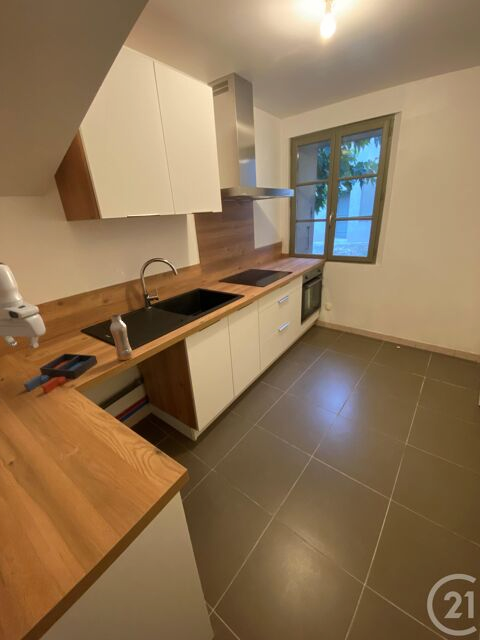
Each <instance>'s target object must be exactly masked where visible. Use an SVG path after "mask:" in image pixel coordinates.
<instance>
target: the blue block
mask: <svg viewBox="0 0 480 640" xmlns="http://www.w3.org/2000/svg"><path fill="white" fill-rule="evenodd" d="M49 381H50V377H49V376H48V375H42V374H41V375H37V376H35V377H33V378H31V379H30V380H28V381H27V382H25V383H24V384H23V386H24V388H25V390H26V392H31V391H33V390H35V389H36V388H37V387H39V386H40V385H44V384H46V383H47V382H49Z"/></svg>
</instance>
